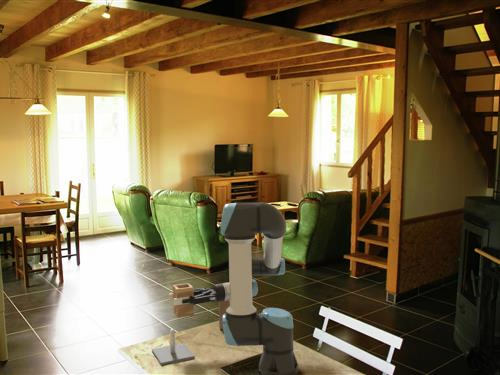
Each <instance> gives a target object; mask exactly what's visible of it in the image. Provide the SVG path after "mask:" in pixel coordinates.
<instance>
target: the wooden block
mask: <svg viewBox="0 0 500 375" xmlns="http://www.w3.org/2000/svg"><path fill="white" fill-rule="evenodd" d="M223 283H224V282H223ZM223 283H220V284H223ZM229 306H230V301H229V300H226V301H225V300H224V301H220V302H218V327H219V330H223V321H222V317H223V314H226V309H227V308H228V307H229Z"/></svg>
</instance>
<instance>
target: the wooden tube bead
mask: <svg viewBox="0 0 500 375" xmlns="http://www.w3.org/2000/svg"><path fill="white" fill-rule="evenodd" d="M193 289H194V286H193V285H191V284H190V283H189V282H188V283H187V282H186V283H179V284H173V285H172V293H173V300H172V301H173V303H172V304H173V305H172V306H173V308H172V309H173V314H174V315H175V317H176V318H178V319H179V318H180V319H181V318H186V317H192V316H195V305H193V303H192V304H190V303H188V304H182V305H175V306H174V299H175V298H182V297H189V298H190V295H191V296H192V297H193V296H194V293H193Z"/></svg>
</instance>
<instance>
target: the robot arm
mask: <svg viewBox="0 0 500 375" xmlns="http://www.w3.org/2000/svg"><path fill="white" fill-rule="evenodd" d="M222 208H223V209H222V213H221V221H220V222H221V223H220V234H221V235H224V240H225V241H226V242H227V243H228V271H229V274H228V275H229V277H228V278H229V279H228V280H229V282H223V284H221V283H216V284H214V285H213V286H212V287H211V288H206V287H199V288H193V293H194V296H193V297H192V296H191V295H190V298H189V297H182V298H175V299H174V306H175V305H182V304H188V303H190V304H192V303H193V305H194V306H195V305H200V304H205V303H206V304H207V303H209V302H210V303H211V302H216V303H219V302H220V301H224V300H225V301H226V300H229V301H230V306H229V307H228V308H227V309H226V314H223V317H222V321H223V329H222V330H223V335H224V340H225V343H226V344H227V345H228V346H233V347H234V346H237V347H241V346H242V347H243V346H244V347H245V346H262V352H261V356H260V359H259V363H258V372H259V371H260V372H261V373H262V374H264V375H298V373H299V362H298V360H297V357H296V354H295V351H294V321H293V320H294V318H293V315H292V313H291V312H289V311H287V310H286V309H282V308H277V307H267V308H264V309H263V310H262V312H261V313H257V308H256V307H255V306H254V305H253V297H256V296H257V294H258V292H259V286H258V282H257V281H256V280H255V279H253V276H283V275H284V274H285V273H286V261H285V258H283V257H282V254H283V252H282V251H283V241H284V240H283V238H284V236H285V234H286V233H287V232H286V231H287V222H286V218H285V217H284V215H283V213H282V212H281V211H280V210H279V209H278V208H277V207H276V206H274V205H272V204H270V203H268V202H233V203H232V202H231V203H226V204H224V206H223V207H222ZM256 234H263V257H260V258H259V257H257V258H255V257H253V256H252V255H253V254H252V242H253V241H254V240H255V239H256ZM168 300H169V301H173V292H171V293H169V294H168Z"/></svg>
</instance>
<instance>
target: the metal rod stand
mask: <svg viewBox="0 0 500 375" xmlns="http://www.w3.org/2000/svg"><path fill="white" fill-rule="evenodd" d="M175 332H176V331H175V329H173V328H171V329H170V330H169V345H167V346H166V345H165V346H161V347H155V348H151V352H152V354H153V353H154V354H153V355H154V356H155V359H156V360H157V361H158V363H159V364H160V366H165V365H169V364H173V363H175V364H176V363H179V362H184V361H187V360H192V359H196V358H195V357H196V355H195V354H194V353H193V352H192V351H191V350H190V349H189V347H188V346H187V345H186V344H185V343H184V342H181V343H177V344H176V333H175Z"/></svg>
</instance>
